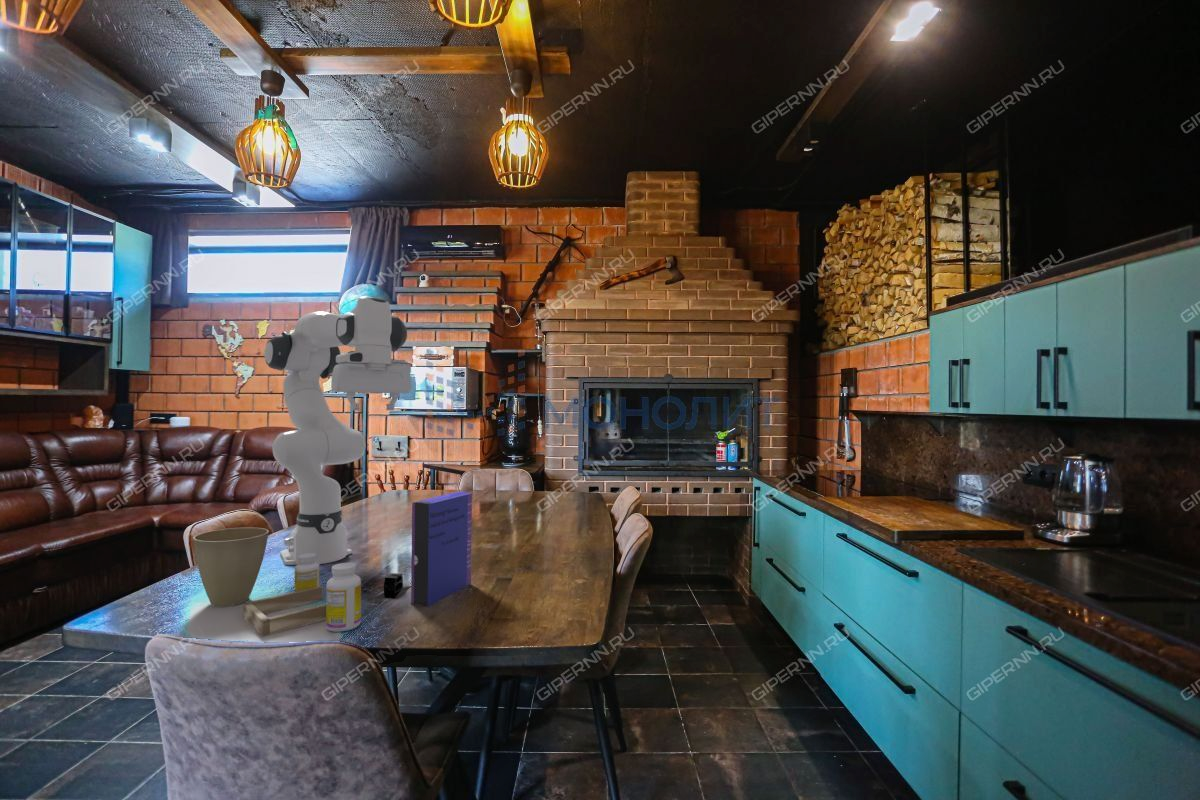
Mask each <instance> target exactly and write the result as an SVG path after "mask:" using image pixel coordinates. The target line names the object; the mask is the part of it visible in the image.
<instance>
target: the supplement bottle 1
mask: <svg viewBox="0 0 1200 800" xmlns="http://www.w3.org/2000/svg"><path fill="white" fill-rule="evenodd" d="M315 561H316V554H315V553H306V554H301V555H299V556H298V563H299V564H295V567H294V592H296V591H301V590H305V589H310V588H314V587H319V586H321V585H320V580H321V579H320V578H321V577H320V576H321V575H320V572H321V571H320V564H318V563H317V562H315Z"/></svg>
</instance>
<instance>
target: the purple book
mask: <svg viewBox="0 0 1200 800" xmlns="http://www.w3.org/2000/svg"><path fill="white" fill-rule="evenodd" d="M472 511H473V493H472V492H468V491H455V492H450V493H446V494H443V495H439V496H438V495H437V496H433V497H430V498H426V499H421V500H418V501H413V502H411V569H410V570H411V571H410V572H411V575H410V578H411V580H410V582H411V583H410V586H411V588H410V605H413V606H420V607H426V608H428V607H430V606H432V605H435V604H436V603H438V602H440V601H442V600H443V599H446V598H448V597H450V596H451V595H453V594H455V593H457V592H459V591H461V590H463V589H465V588H467V587H469V586H471V585H472V539H473V538H472V531H473V530H472V528H473V526H472V523H473V522H472V520H473V519H472V518H473V514H472V513H473V512H472Z"/></svg>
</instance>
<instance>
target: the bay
mask: <svg viewBox="0 0 1200 800" xmlns="http://www.w3.org/2000/svg"><path fill="white" fill-rule="evenodd" d="M323 597H324V586H322V585H320V586H319V587H314V588H310V589H305V590H301V591H296V592H295V591H293V592H287V593H283V594H279V595H274V596H270V597H264V598H260V599H256V600H255V599H254V600H251V601H245V602H243V603H242V617H243V619H245V620H246V621H247V622H248V623H249V624H250V625H251V626H252V627H253V628H254V629H255V630H256V631H257V632H258V633H259V634H260V635H261V636H262V637H266V636H269V635H273V634H276V633H281V632H284V631H288V630H292V629H296V628H300V627H303V626H307V625H311V624H315V623H318V622H322V621H326V603H324V604H321V605H316V606H312V607H308V608H305V609H304V608H303V609H300V610H296V611H291V612H288V613H283V614H280V615H278V614H277V615H275V616H274V615H273V616H272V617H268V616H266V615H265V614H268V613H273V612H276V611H281V610H287V609H291V608H294V607H299V606H302V605H307V604H311V603H315V602H319V601H323V600H324V598H323Z"/></svg>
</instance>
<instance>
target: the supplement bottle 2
mask: <svg viewBox="0 0 1200 800" xmlns="http://www.w3.org/2000/svg"><path fill="white" fill-rule="evenodd" d="M356 571H357V564H356V563H354V562H342V563H336V564H334V565H332V567H331V574H332V577H330V578H329V579H328V580H327V582H326V588H325V589H326V592H325V593H326V595H325V597H326V603H325V604H326V620H325V621H326V623H325V625H326V629H327V630H329V631H331V632H334V633H343V632H347V631H351V630H354V629H355V628H357V627H358V626H360V624H361V622H362V578H361V577H360V576H359V575H357V574H356Z"/></svg>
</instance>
